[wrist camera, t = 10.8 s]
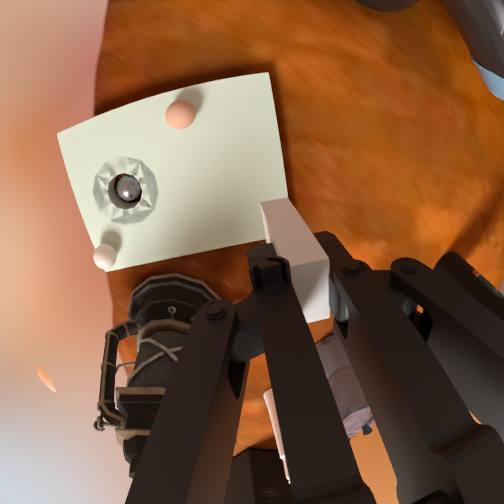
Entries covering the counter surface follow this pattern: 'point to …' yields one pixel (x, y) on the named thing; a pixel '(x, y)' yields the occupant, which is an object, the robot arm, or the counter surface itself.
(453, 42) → the counter surface
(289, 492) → the black rectangular block
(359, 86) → the counter surface
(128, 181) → the steel ball
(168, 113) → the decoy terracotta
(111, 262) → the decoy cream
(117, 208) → the board
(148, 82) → the counter surface
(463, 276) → the wine bottle
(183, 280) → the lantern
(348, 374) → the moka pot
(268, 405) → the cosmetic bottle
